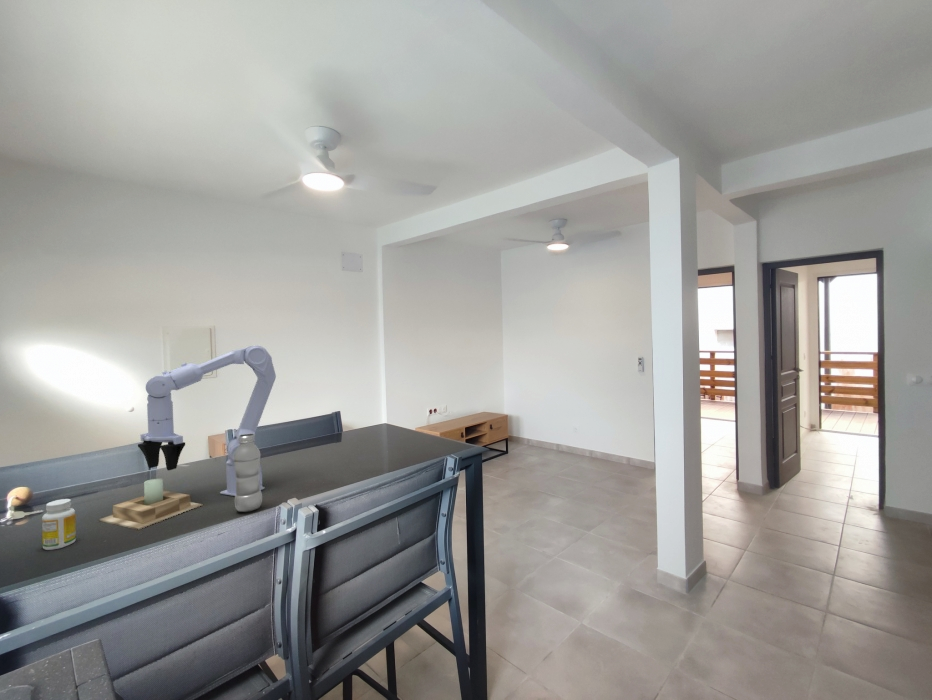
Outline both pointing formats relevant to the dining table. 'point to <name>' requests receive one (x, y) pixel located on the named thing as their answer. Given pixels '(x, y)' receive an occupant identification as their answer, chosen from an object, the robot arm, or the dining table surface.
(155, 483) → the dowel
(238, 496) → the plastic bottle
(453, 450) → the dining table surface
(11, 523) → the dining table surface
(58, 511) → the supplement bottle
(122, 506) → the socket block
